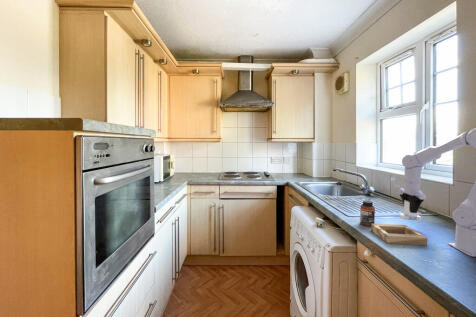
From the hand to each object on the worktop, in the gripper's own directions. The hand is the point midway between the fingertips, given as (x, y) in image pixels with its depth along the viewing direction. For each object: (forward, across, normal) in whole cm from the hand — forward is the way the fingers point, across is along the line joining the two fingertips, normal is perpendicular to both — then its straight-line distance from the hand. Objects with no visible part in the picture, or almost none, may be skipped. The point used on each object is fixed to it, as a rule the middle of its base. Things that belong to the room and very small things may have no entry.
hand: (410, 211), depth 98 cm
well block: (+8, -10, +12) cm, 18 cm away
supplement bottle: (+8, +3, +17) cm, 19 cm away
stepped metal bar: (+3, 0, 0) cm, 3 cm away
